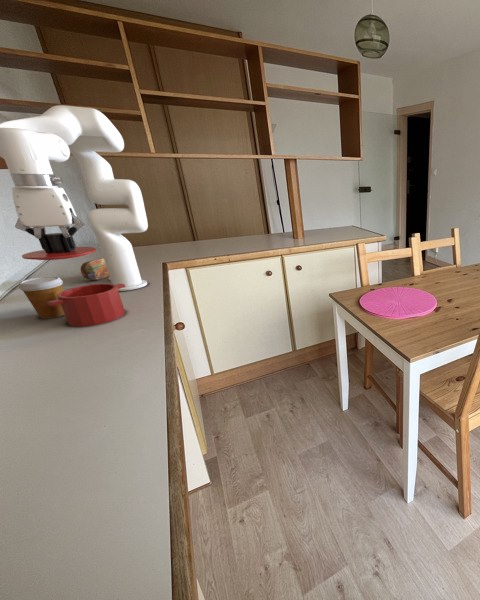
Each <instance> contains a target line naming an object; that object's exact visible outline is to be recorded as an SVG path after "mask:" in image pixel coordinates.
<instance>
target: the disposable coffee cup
mask: <svg viewBox="0 0 480 600" xmlns="http://www.w3.org/2000/svg"><path fill="white" fill-rule="evenodd" d="M63 282H64V280H62V279H61V277H60V276H53V275H52V276H51V275H50V276H39V277H34V278H33V277H32V278H28V279H25V280H22V281H20V282H19V286H18V289H19V290H21V291H22V292H23V294H24V295H25V296H26V298H27V300H28V301H29V302H30V305H32V307H33V309H34V310H35V312H36V314H37V315H38V316H39V318H40V319H51V318H58V317H62V316H65V314H64V311H63V309H62V306H61V304H59V305H56V306H51V305H48V303H47V302H49V301H53V300H57V299H58V296H57V294H59V293H60V292H62V291H64V288H63Z"/></svg>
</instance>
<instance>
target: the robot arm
mask: <svg viewBox="0 0 480 600" xmlns="http://www.w3.org/2000/svg"><path fill="white" fill-rule="evenodd" d="M124 148H125V140H124V138H123V136H122V134H121V133H120V131H119V130H118V129H117V127H116V126H115V125H114V124H113V123H112V121H111V120H110V119H109V117H107V116H106V115H105V114H104V113H102V112H101V111H100V110H98V109H96V108H93V107H86V106H85V107H84V106H73V105H65V104H64V105H61V104H60V105H54V106H51V107H50V108H48V109H47V110H45V111H44V112H43V113H42V114H40V115H38V116H30V117H24V118H19V119H11V120H8V121H7V120H6V121H3V122H0V158H1V159H3V160H4V161H5V164H6V166H7V169H8V172H9V174H10V177H11V180H12V182H13V185H14V187H12V189H11V190H12V199H13V204H14V206H15V207H14V208H15V211H16V214H17V217H18V218H17V221H16V222H15V225H14V227H15V229H16V230H17V229H18V230H20V231H23V232H26V233H28V234H29V235H31V236H33V237H34V238H35V239H38V241H39V244H40V246H41V250H45V252H46V253H51V249H50V247H49V244H48V241H47V239H46V236H45V234H47V230H46V227H47V228H48V227H58V229H59V230H60V233H63V236H64V238H62V240H63V242H64V245H65V248H66V251H67V252H72V251H74V250H75V248H76V247H77V245H76V243H75V242H76V241H75V240H74V237H73V236H75V234H76V233H77V232H78V231H79V230H81V229H82V228H84V227H85V226H86V224H85V222H83V220H81V219H80V218H79V217H78V216H77V213H76V211H75V208H74V206H73V204H72V202H71V200H70V198H69V196H68V195H67V193H66V191H65V189H64V188H63V187H59V184H63V183H64V180H63V178H62V177H58V176H56V175H55V174H54V172H53V169H52V166H51V163H52V164H53V163H54V164H55V163H56V164H58V163H64V162H66V161H68V160H69V159H70V156H71V154H72V155H73V157H74V158H75V159H76V161H77V162H78V164H79V165H80V168H81V172H82V176H83V180H84V184H85V189H86V193H87V196H88V198H89V200H90V201H91V202H92V203H93V204H95V205H99V206H101V205H102V206H127V208H126V207H125V208H124V207H123V208H120V207H119V208H118V207H116V208H115V207H111V208H109V207H107V208H104V207H103V208H95V209H92V210H89V212H88V213H87V215H86V219H87V222H88V224H89V226H90V228H91V230H92V232H93V234H94V236H95V238H96V241H97V243H98V245H99V248H100V251H101V254H102V258H104V261H105V264H106V267H107V270H108V273H109V276H108V277H107V278H108V281H110V282H111V283H110V284H114V285H116V284H125V287H124V288H120V289H118V291H119V292H127V291H133V290H137V289H140V288H141V289H142V288H143V287H146V286H147V285H148V281H147V280H145V279H142V277H141V274H140V273H141V272H140V269H139V266H138V263H137V259H136V255H135V252H134V249H133V248H134V247H133V245H132V243H131V241H129V240H128V238H126V237H125V236H123V234H139V233H140V234H141V233H144V232H147V231H148V228H149V223H148V217H147V213H146V207H145V203H144V198H143V195H142V191H141V188H140V186H139V185H138V183H137V182H136V181H134V180H131V179H127V178H126V179H125V178H120V179H119V178H115V177H114V172H113V168H112V166H111V164H110V163H109V162H108V161H107V160H106V158H104V157H102V156H101V155H100V154H98V152H99V153H121V152H122V151H123V150H124ZM71 225H73V226H71Z"/></svg>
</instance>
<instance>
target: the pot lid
mask: <svg viewBox="0 0 480 600" xmlns="http://www.w3.org/2000/svg"><path fill="white" fill-rule="evenodd" d="M45 236H46V239H47V241H48V244H49V247H50V249H51V253H46V252H45V250H43V249H41V250H34V251H30V252H25V253H24V254H22V255H21V258H22V259H24V260H31V261H32V260H36V261H54V260H55V261H56V260H66V259H73V258H79V257H84V256H86V255H90V254H94V253H96V252H97V251H98V249H97V247H92V246H76V248H75V250H74V251H72V252H67V251H66V248H65V245H64V242H63V240H62V238H64V236H63V233H62V232H54V233H53V232H52V233H51V232H50V233H46V234H45Z"/></svg>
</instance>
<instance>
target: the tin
mask: <svg viewBox="0 0 480 600" xmlns="http://www.w3.org/2000/svg"><path fill="white" fill-rule="evenodd" d="M80 273H81V275H82V277H83V278H84V279H86V280H88V281H99V280H102V279H105V278H109V277H110V276H109V273H108V270H107V267H106V264H105V261H104V258H103V257H99V258H96V259H92V260H89V261H85V262H83V263H82V264H81V266H80Z"/></svg>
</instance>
